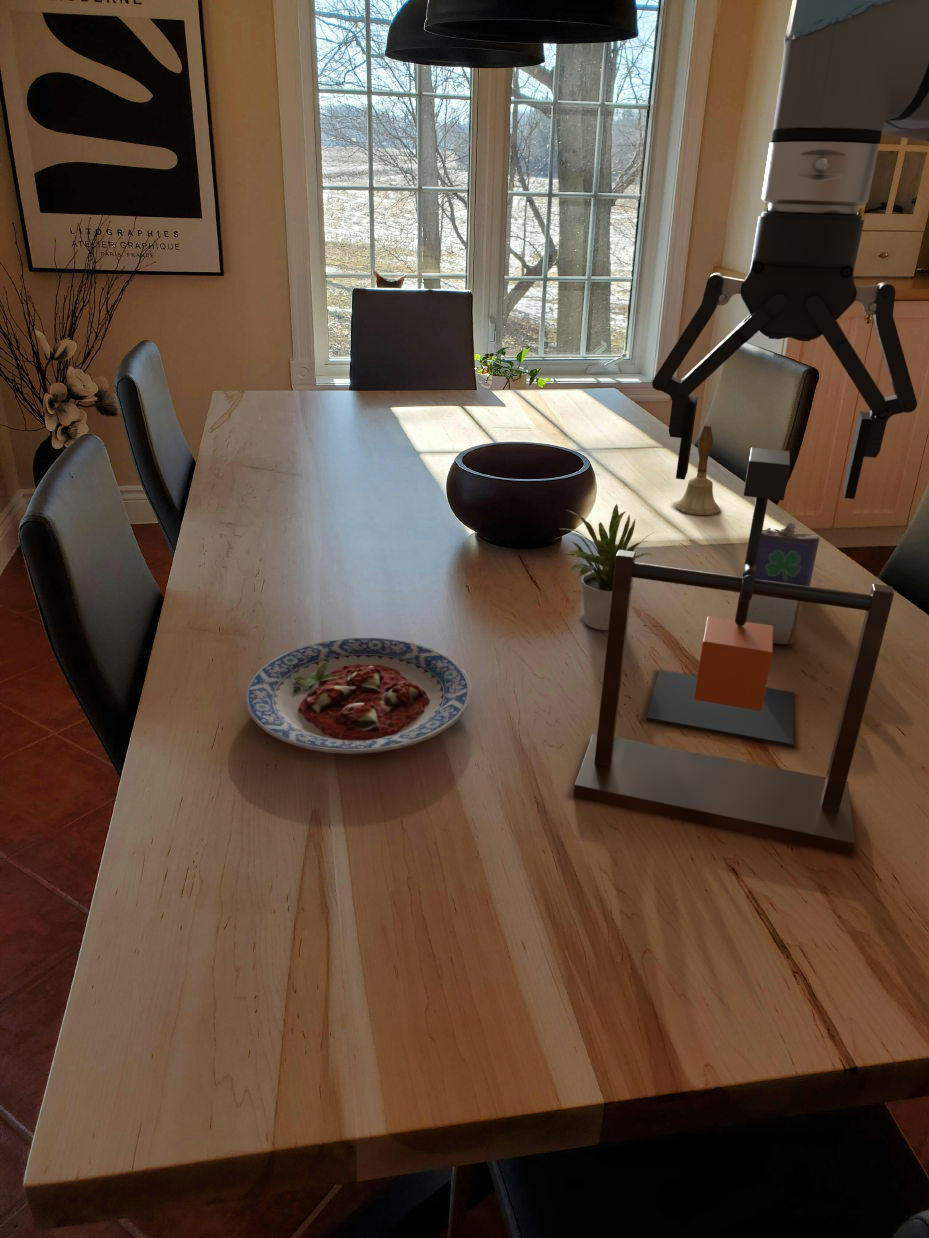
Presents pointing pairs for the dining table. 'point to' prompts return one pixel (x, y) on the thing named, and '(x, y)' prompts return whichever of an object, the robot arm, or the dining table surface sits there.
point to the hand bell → (700, 482)
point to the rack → (720, 784)
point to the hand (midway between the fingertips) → (762, 484)
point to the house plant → (601, 581)
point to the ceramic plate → (358, 695)
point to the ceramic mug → (776, 616)
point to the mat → (721, 711)
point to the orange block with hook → (744, 606)
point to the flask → (786, 556)
